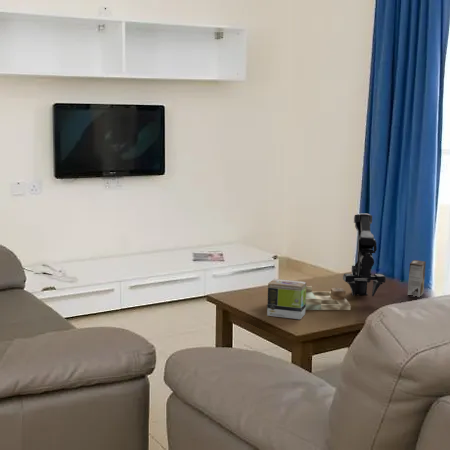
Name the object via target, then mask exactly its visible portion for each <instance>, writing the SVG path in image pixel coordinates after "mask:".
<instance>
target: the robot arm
mask: <svg viewBox="0 0 450 450" xmlns="http://www.w3.org/2000/svg"><path fill="white" fill-rule="evenodd" d="M353 223H354V228H355V229H356V231H357V251H356V252H357V253H356V255H357V257H356V258H357V259H356V260H357V261H356V262H355V264H354V265H351V273H343V275H342V280H343V281H344V283H346V284H348V285H349V287H350V290H351V294H352V297H355V296H368V283H370V282H371V281H372V282H373V283H372V292H371V296H372V297H375V294H376V293H377V290H378V289H379V287H380V286H381V285H383V283H386V276H385V275H383V274H382V273H374V274H373V275H372V270H373V269H372V268H373V266H374V265H375V260H374V258H373V254H376V252H377V240H376V239H375V236H374V234H373V233H372V232H371V224H372V223H373V215H371V214H369V213H364V212H363V213H361V212H360V213H356V214H354V216H353Z"/></svg>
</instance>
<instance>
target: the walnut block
mask: <svg viewBox="0 0 450 450" xmlns="http://www.w3.org/2000/svg"><path fill="white" fill-rule="evenodd" d="M330 292H331V294H330V297H331V298H332V299H333V300H345V299H346V291H345V289H344V288H343V287H342V288H341V287H331V288H330Z"/></svg>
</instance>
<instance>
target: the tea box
mask: <svg viewBox="0 0 450 450" xmlns="http://www.w3.org/2000/svg"><path fill="white" fill-rule="evenodd" d="M306 286H307V281H303V280H302V281H301V280H289V279H279V278H273V279H272V280H271V281H270V282H268V284H267V304H266V306H267V307H266V315H267V316H269V317H270V316H271V317H275V318H276V317H277V318H283V319H292V320H293V319H294V320H302V318H303V317H304V316H305V315H306V310H305V308H306Z"/></svg>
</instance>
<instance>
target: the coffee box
mask: <svg viewBox="0 0 450 450" xmlns="http://www.w3.org/2000/svg"><path fill="white" fill-rule="evenodd" d="M426 263H427V262H426V261H423V260H417V259H416V260H415V259H413V260H411V262H409V270H408V284H407V296H408V295H413V296H412V297H415V296H417V298H421V297H420V296H423V294H424V292H425V289H424V288H425V276H426V275H425V274H426Z"/></svg>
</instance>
